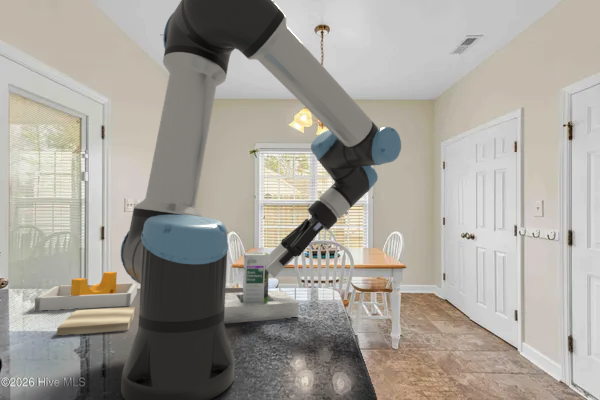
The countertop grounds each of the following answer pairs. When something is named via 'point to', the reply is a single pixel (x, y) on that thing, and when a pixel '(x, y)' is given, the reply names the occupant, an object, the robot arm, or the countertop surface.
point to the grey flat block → (259, 308)
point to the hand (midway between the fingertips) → (267, 268)
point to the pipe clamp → (105, 286)
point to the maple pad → (97, 321)
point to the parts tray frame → (85, 298)
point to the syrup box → (255, 277)
